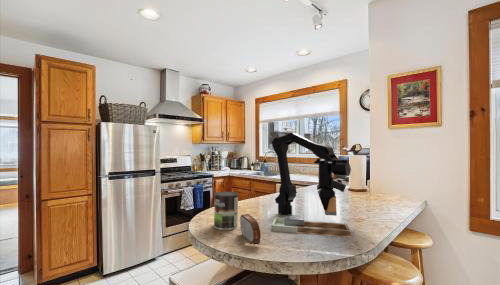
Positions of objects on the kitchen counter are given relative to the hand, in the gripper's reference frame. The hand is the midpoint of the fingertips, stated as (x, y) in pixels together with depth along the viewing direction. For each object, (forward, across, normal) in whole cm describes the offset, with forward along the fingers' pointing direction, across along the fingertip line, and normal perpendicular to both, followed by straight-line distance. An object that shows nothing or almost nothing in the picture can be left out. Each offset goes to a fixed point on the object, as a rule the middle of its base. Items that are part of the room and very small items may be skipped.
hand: (325, 209), depth 105 cm
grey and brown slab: (+7, -25, +29) cm, 39 cm away
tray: (+7, -10, +17) cm, 21 cm away
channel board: (+7, -10, +2) cm, 12 cm away
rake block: (+2, 0, -2) cm, 3 cm away
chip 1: (+6, -10, +15) cm, 19 cm away
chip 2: (+6, -10, +11) cm, 16 cm away
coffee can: (+7, -13, +42) cm, 44 cm away
